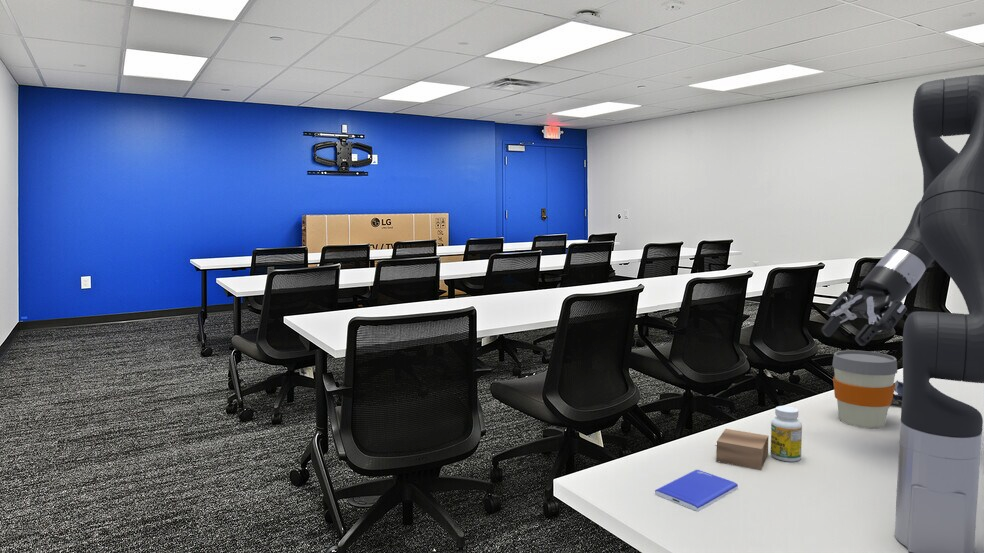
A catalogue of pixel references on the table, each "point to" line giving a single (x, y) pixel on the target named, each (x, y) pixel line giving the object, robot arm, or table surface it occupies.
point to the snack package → (899, 389)
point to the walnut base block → (742, 448)
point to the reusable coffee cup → (864, 386)
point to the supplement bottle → (786, 434)
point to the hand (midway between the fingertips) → (841, 338)
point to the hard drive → (697, 489)
